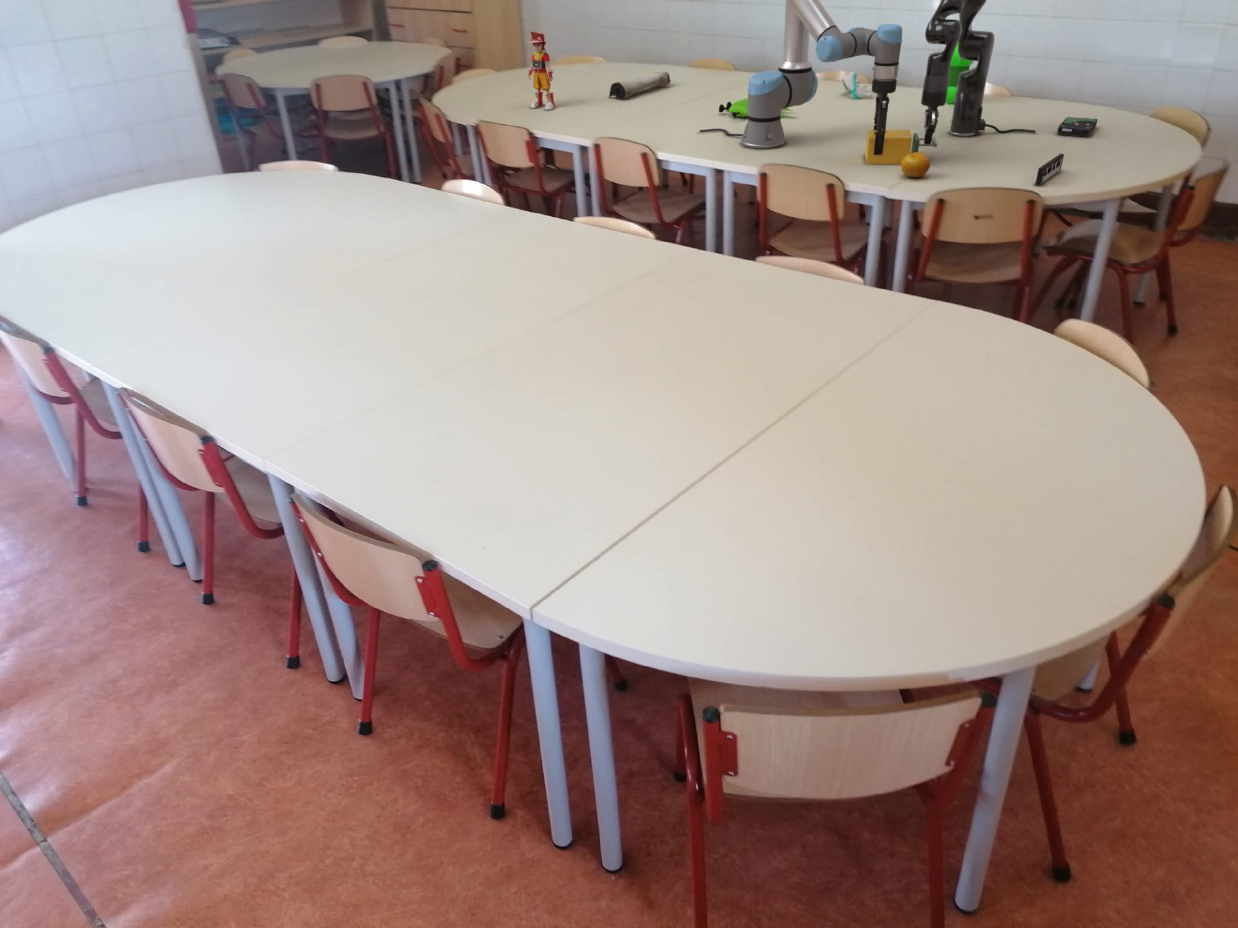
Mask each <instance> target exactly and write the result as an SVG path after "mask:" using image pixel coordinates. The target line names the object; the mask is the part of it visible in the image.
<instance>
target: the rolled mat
mask: <svg viewBox="0 0 1238 928" xmlns="http://www.w3.org/2000/svg"><path fill="white" fill-rule="evenodd" d="M671 83H672V81H671V77H670V74H669V72H668V71H658V72H654V73H649V74H645V75H640V76H637V77H633V78H628V79H623V80H620V81H616V82H613V83H612V84H611V85H610V89H609V95H608V97H609V98H611V97H616V99H620V100H622V101H623V100H626V99H627V98H629V97H630V96H632V95H635V94H636V93H638V92H640V91H643V90H644V89H647V88H650V87H655V86H658V87H659V86H661V87H665V86H669V85H670V84H671Z"/></svg>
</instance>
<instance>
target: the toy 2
mask: <svg viewBox="0 0 1238 928" xmlns="http://www.w3.org/2000/svg"><path fill="white" fill-rule="evenodd" d="M725 110H726V111H728V113H729V114H730V115H731V117H733V118H735V117H741V118H748V97H747V98H743V99H740V100H737V101H735V102H733V104H732V102H731V101H728V102H727V103H726V107H725V105H724V104H722V103H721V104H720V105H719V107H718V113H723V112H724V111H725ZM781 111H791V112H792V111H794V110H793V109H790V108H789V107H788V108H784V109H781ZM781 118H794V116H793V115H787V114H784V113H783V114H782V113H781Z"/></svg>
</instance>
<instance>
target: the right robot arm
mask: <svg viewBox="0 0 1238 928" xmlns="http://www.w3.org/2000/svg"><path fill="white" fill-rule="evenodd" d="M987 1H988V0H940V2H939V4H938V6H937V8H936V10H935V12H933V15H932V16H931V18H930V20H929V21H928V23H927V25H926V28H925V32H924V37H925V40H926V42H927V44H930V45H943V46H945V47H944V49H943V50H941V51H935V52H931V53H930V54H929V55H928V57H927V62H926V71H925V76H924V78H923V86H922V93H921V100H920V104H921V105H922V106H924V107H926V108H927V109H924V123H923V124H924V125H923V128H924V137H923V138H924V140H923V144H932V137H933V135H934V133H935V132H936V129H937V124H938V122H939V120H938V118H939V116H940V111H939V109H938V108H939V107H943V106H944V105H946V103H947V101H946V98H947V91H948V84H949V72H950V65H951V60H952V56H953V53H954V51H955V48H956V46H957V43H958V55H959V58H960V59H962V60H969V61H973V62H977V63H976V66H975V67H972V68H971V69H970V68H969V70H966V71H963V72H961V73H960V74H959V77H958V83H957V90H956V96H955V103H953V110H952V115H951V119H950V129H949V134H950V135H952V136H956V137H973V136H979V131H980V132H981V131H982V132H983V131H985V130H986V127H987V128H990V129H993V130H995V132H997V133H999V134H1007V133H1012V132H1019V133H1020V132H1022V133H1033V134H1036V132H1037V130H1035V129H1026V128H1025V129H1024V128H1011V129H1006V130H1001V129H999V128H998V127H997V126H995V125H993V124H988V123H987V122H986V120H985V118H982V115H983V109H984V107H983V102H984V96H985V90H986V83H987V79H988V74H989V70H990V66H991V65H990V64H991V59H992V55H993V52H994V47H995V39H996V38H995V34H994V32H993V31H989V30H988V31H987V30H973V27H972V25H973V22H974V20H975V18H976V17H977V15H978V14H979V12H980V11H981V10H982V9H983V7H984V6H985V4H986V3H987ZM956 14H958V19H952V18H951V19H949V18H947V17H949V16H952V15H956ZM946 18H947V19H946Z"/></svg>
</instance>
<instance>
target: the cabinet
mask: <svg viewBox="0 0 1238 928" xmlns="http://www.w3.org/2000/svg"><path fill="white" fill-rule="evenodd" d="M875 132H877V130H874V129H868V130H867V133H866V141H865V152H864V157H865V162H866V163H865V164H867V165H901V163H902V160H903V158H904V157H905V156H906V155H908V154H910V153H911V148H912V141H913V136H912V134H911V130H910V129H886V133H885V136H884V145H883V154H882V155H874V147H875V138H876V135H874V133H875Z"/></svg>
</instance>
